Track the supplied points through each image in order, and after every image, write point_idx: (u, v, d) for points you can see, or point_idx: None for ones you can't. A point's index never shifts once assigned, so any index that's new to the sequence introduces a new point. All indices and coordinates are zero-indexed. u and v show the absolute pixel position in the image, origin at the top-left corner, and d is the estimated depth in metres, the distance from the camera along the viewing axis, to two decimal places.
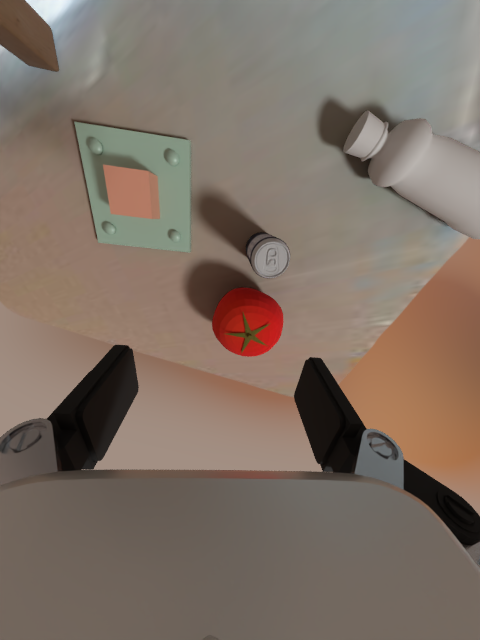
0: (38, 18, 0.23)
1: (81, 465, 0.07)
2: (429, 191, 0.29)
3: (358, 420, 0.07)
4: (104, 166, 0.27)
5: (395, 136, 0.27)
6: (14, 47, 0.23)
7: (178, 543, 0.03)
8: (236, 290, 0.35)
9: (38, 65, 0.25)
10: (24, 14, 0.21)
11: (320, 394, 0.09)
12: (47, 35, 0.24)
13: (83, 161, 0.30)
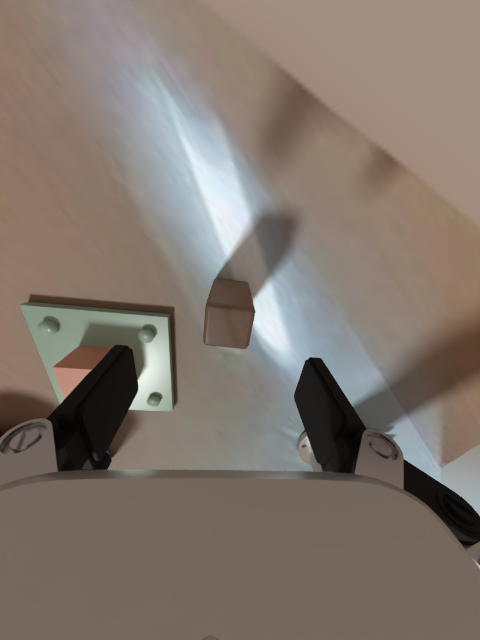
0: None
1: (81, 465, 0.07)
2: None
3: (358, 420, 0.07)
4: None
5: None
6: None
7: (178, 543, 0.03)
8: None
9: None
10: None
11: (320, 394, 0.09)
12: None
13: (128, 315, 0.23)
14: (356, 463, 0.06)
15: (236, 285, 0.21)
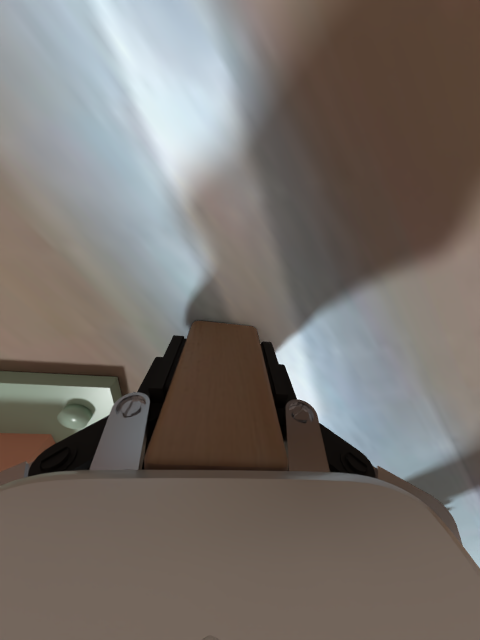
0: None
1: None
2: None
3: (285, 391, 0.08)
4: None
5: None
6: None
7: (178, 543, 0.03)
8: None
9: None
10: None
11: None
12: None
13: (35, 387, 0.12)
14: None
15: (234, 341, 0.10)
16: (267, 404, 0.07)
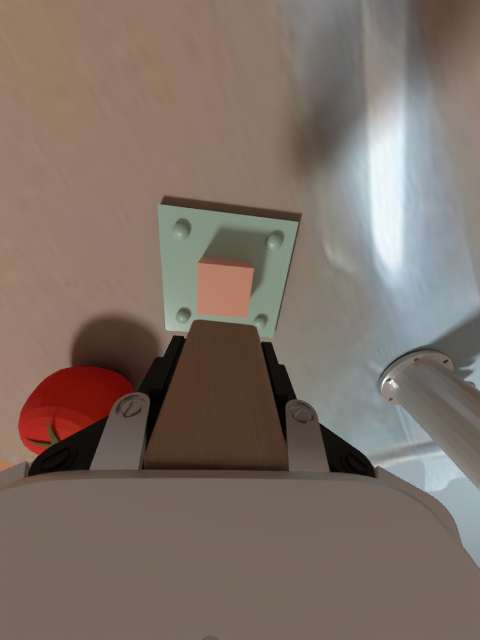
0: None
1: None
2: None
3: (285, 391, 0.08)
4: (251, 270, 0.21)
5: None
6: None
7: (178, 543, 0.03)
8: None
9: None
10: None
11: None
12: None
13: (260, 219, 0.23)
14: None
15: (235, 340, 0.10)
16: (267, 402, 0.07)
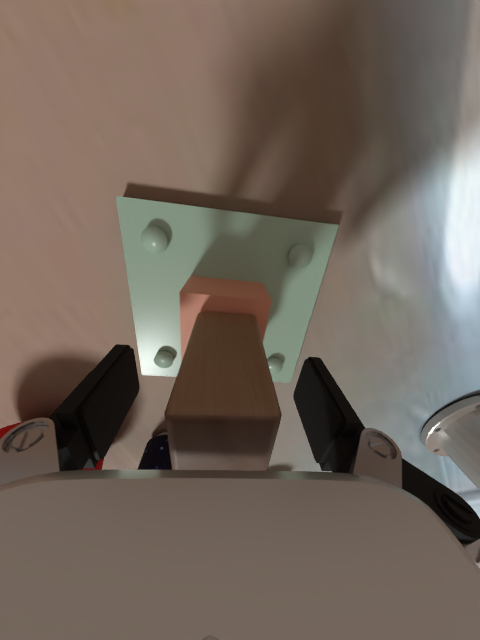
0: None
1: (83, 464, 0.07)
2: None
3: (357, 419, 0.07)
4: (268, 303, 0.13)
5: None
6: None
7: (178, 543, 0.03)
8: None
9: None
10: None
11: (319, 393, 0.09)
12: None
13: (280, 220, 0.15)
14: (354, 462, 0.06)
15: (235, 326, 0.11)
16: (264, 373, 0.08)
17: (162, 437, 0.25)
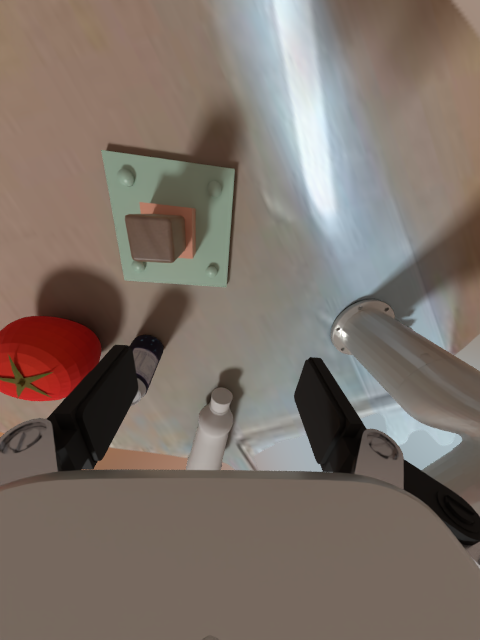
0: None
1: (81, 465, 0.07)
2: (198, 445, 0.45)
3: (358, 420, 0.07)
4: (190, 209, 0.24)
5: (221, 418, 0.42)
6: None
7: (178, 543, 0.03)
8: (88, 344, 0.31)
9: None
10: None
11: (320, 394, 0.09)
12: None
13: (199, 165, 0.25)
14: (356, 463, 0.06)
15: (168, 215, 0.22)
16: (170, 216, 0.19)
17: (142, 336, 0.36)
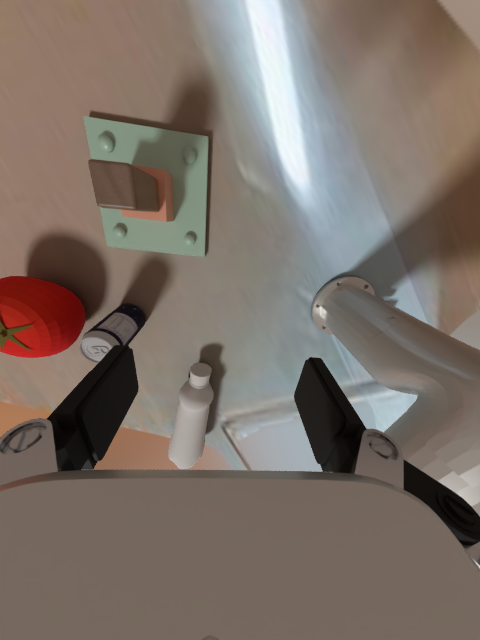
0: (151, 211, 0.25)
1: (81, 465, 0.07)
2: (178, 420, 0.45)
3: (358, 420, 0.07)
4: (162, 171, 0.25)
5: (200, 392, 0.43)
6: None
7: (178, 543, 0.03)
8: (70, 305, 0.32)
9: None
10: None
11: (320, 394, 0.09)
12: None
13: (174, 132, 0.27)
14: (356, 463, 0.06)
15: None
16: (135, 167, 0.20)
17: (125, 304, 0.37)
